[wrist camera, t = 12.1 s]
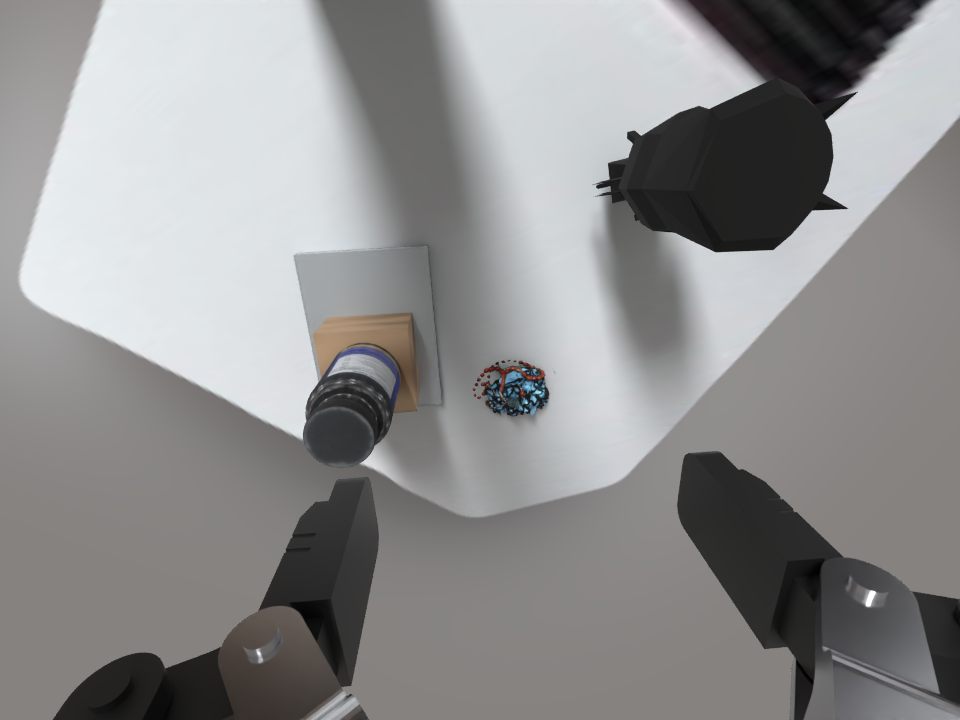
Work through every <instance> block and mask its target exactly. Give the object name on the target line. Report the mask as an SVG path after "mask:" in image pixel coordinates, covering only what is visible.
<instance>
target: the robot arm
mask: <svg viewBox="0 0 960 720" xmlns="http://www.w3.org/2000/svg"><path fill="white" fill-rule="evenodd" d="M677 507H678V514H679V518H680V521H681V524H682V526H683V528H684V529H685V531H686V532H687V534H688V535H689V537H690V538H691V540H692V541H693V543H694V544H695V546H696V547H697V549H698V550H699V552H700V553H701V555H702V556H703V558H704V559H705V561H706V562H707V564H708V565H709V567H710V568H711V570H712V571H713V573H714V574H715V576H716V577H717V579H718V580H719V582H720V583H721V585H722V586H723V588H724V589H725V591H726V592H727V594H728V595H729V597H730V598H731V600H732V601H733V603H734V604H735V606H736V607H737V608H738V610H739V612H740V613H741V614H742V616H743V617H744V619H745V621H746V622H747V623H748V625H749V627H750V628H751V630H752V631H753V632H754V634H755V635H756V637H757V638H758V640H759V641H760V643H761V644H762V646H763V647H764V649H769V648H780V647H788V648H789V650H790V651H791V652H792V654H793V655H794V659H793V662H792V667H791V685H790V709H789V720H960V599H954V598H948V597H942V596H936V595H930V594H924V593H918V592H912V591H911V590H910V589H909V588H908V587H907V586H906V585H905V584H903V582H902V581H900V580H899V579H898V578H896V577H895V576H893V575H892V574H890V573H889V572H887V571H885V570H883V569H882V568H879V567H877V566H875V565H873V564H870V563H867V562H865V561H862V560H858V559H853V558H845V557H843V556H842V555H841V554H840V553H839V552H838V551H837V550H835V549H834V548H833V547H832V546H831V545H830V544H829V543H828V542H827V541H826V540H825V539H824V538H823V537H822V536H821V535H820V534H819V533H818V532H817V531H816V530H815V529H814V528H812V527H811V526H810V525H809V524H808V523H807V522H806V521H805V520H804V519H803V518H802V517H801V516H800V515H799V514H798V513H797V512H794V511H793V508H792V507H791V506H790V505H788V503H786V502H785V501H784V500H783V499H782V500H781V499H780V496H779V495H778V494H777V493H776V492H775V491H774V490H773V489H772V488H771V487H770V486H769V485H768V484H767V483H766V482H764V481H763V480H761V479H759V478H757V477H756V476H754V475H752V474H750V473H749V472H747V471H745V470H743V469H742V470H738V469H737V468H736V467H735V466H734V465H733V464H732V463H731V462H730V461H729V460H728V459H727V458H726V457H725V456H724V455H723V454H722V453H721V452H718V451H712V452H700V453H688V454H686V455H685V457H684V459H683V465H682V472H681V480H680V487H679V494H678V502H677ZM378 534H379V533H378V524H377V517H376V512H375V506H374V500H373V494H372V488H371V482H370V479H369V478H368V477H364V478H351V479H338V480H337V481H336V483H335V486H334V489H333V491H332V493H331V496H330V499H329V501H323V502H315V503H314V504H313V505H312V506H311V507H310V508H309V509H308V510H307V511H306V513H304V514H303V515H302V516H301V517H300V519H299V521H298V524H297V526H296V528H295V530H294V533H293V537H292V538H291V539H290V542H289V544H288V546H287V548H286V553H284V555H283V557H282V559H281V562H280V564H279V567H278V568H277V571H276V573H275V575H274V577H273V579H272V582H271V584H270V586H269V588H268V591H267V593H266V595H265V597H264V600H263V602H262V604H261V606H260V609H259V610H258V611H257V612H255V613H253V614H251V615H250V616H248V617H247V618H245V619H244V620H242V621H241V622H240V623H239V624H237V626H235V627H234V628H233V629H232V631H231V632H230V633H229V634H228V635H227V637H226V638H225V640H224V642H223V643H222V646H221V647H219V648H218V649H216V650H214V651H211V652H209V653H206V654H203V655H201V656H198V657H196V658H193V659H190V660H187V661H185V662H182V663H179V664H177V665H174V666H171V667H168V668H166V669H165V667H164V665H163V663H162V661H161V659H160V658H159V657H158V656H156V655H154V654H151V653H135V654H131V655H127V656H124V657H122V658H119V659H117V660H114V661H112V662H111V663H109V664H107V665H105V666H103V667H102V668H101V669H99V670H98V671H96V672H94V673H93V674H92V675H91V676H90V677H88V678H87V679H86V680H85V681H83V682H82V683H81V684H80V685H79V686H78V687H77V688H76V689H75V690H74V692H72V694H71V695H70V696H69V697H68V699H67V700H66V701H65V703H64V704H63V706H62V707H61V709H60V710H59V711H58V713H57V714H56V716H55V717H54V719H53V720H369V719H368V718H367V716H366V714H365V712H364V711H363V709H362V707H361V706H360V704H359V702H358V701H357V699H356V698H355V697H354V696H353V695H352V694H350V695H349V696H347V695H346V694H345V692H344V690H343V689H342V687H344V686H351V684H352V679H353V674H354V668H355V664H356V659H357V654H358V649H359V644H360V639H361V634H362V628H363V624H364V618H365V614H366V609H367V603H368V598H369V593H370V588H371V583H372V578H373V572H374V568H375V563H376V558H377V552H378V541H379V535H378Z"/></svg>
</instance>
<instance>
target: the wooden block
mask: <svg viewBox="0 0 960 720" xmlns="http://www.w3.org/2000/svg"><path fill="white" fill-rule="evenodd" d="M313 339H314V344H315V349H316V354H317V359H318V364H319V369H320V375H321V378H322V376H323V375H324V373H325V372H326V370H327V369H328V367H329V366H330V364H331V363H332V361H333V360H334V358H335V357H336V355H337V354H338V353H339V352H341V351H342V350H343V349H345V348H347V347H348V346H350V345H353V344H356V343H371V344H376V345H378V346H380V347H382V348H384V349H386V350H387V351H388V352H389V353H390V354H391V355H392V356H393V357H394V358H395V359H396V360H397V363H398V364H399V367H400V371H401V381H400V387H399V391H398V396H397V400H396V404H395V408H394V412H393V413H397V412H411V411H417V406H418V399H419V392H420V382H419V373H418V364H417V355H416V345H415V336H414V327H413V318H412V312H410V313H394V314H379V315H363V316H347V317H332V318H327V319H326V320H325V321H324V322H323V323H322V324H321V326H320V327H319V328H318V329H317V330H316V331H315V332H314V333H313Z"/></svg>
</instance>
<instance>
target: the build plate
mask: <svg viewBox="0 0 960 720" xmlns="http://www.w3.org/2000/svg"><path fill="white" fill-rule="evenodd" d="M294 260H295V265H296V270H297V275H298V280H299V285H300V290H301V295H302V300H303V305H304V310H305V315H306V320H307V325H308V331H309V336H310V341H311V346H312V351H313V356H314V361H315V366H316V371H317V376H318V381H320V379H321V375H320V369H319V364H318V359H317V354H316V349H315V344H314V339H313V333H314V332H315V331H316V330H317V329H318V328H319V327H320V326H321V324H322V323H323V322H324V321H325V320H326V319H327V318H332V317H347V316H363V315H379V314H394V313H410V312H412V318H413V327H414V336H415V345H416V355H417V364H418V373H419V382H420V392H419V399H418V406H421V405H435V404H441V388H440V377H439V365H438V354H437V343H436V332H435V321H434V310H433V299H432V288H431V277H430V266H429V255H428V245H427V246H410V247H393V248H376V249H358V250H341V251H324V252H307V253H297V254H295V255H294Z"/></svg>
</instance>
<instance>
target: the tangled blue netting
mask: <svg viewBox="0 0 960 720" xmlns="http://www.w3.org/2000/svg"><path fill="white" fill-rule="evenodd" d="M508 361H510V360H508ZM514 362H516V361H514ZM502 363H505V361H502ZM496 365H498V366H496V367H494V366H493V365H492V366H491V367H490V368H489V369H487V368H486V369H484V373H487V372H491V371H494V370H496V371H499V372H500V373H501V374H502V375H501V377H500V379H498V380H496V381H495V382H494V383H493V385H490V382H489V381H488V382H486V383H485V382H483V383H481V386H485V389H484V391H483V392H482V395H483V396H484V395H488V397H489V401H486V405H487V406H489V408H491V409H493V412H494V413H496V412H497V413H499V414H502V413H503V412H504V411H506V412H507V414H508V415H510V416H517V415H518V414H521V415H523V414H524V411H525V412H526V413H527V414H528V413H530V414H531V415H534V414H535V412H536V408H540V409H542V406H544V405H545V403H547V402H548V396H549V392H548V389H547V388H546V387H545V382H544V377H545V374H544V371H543V370H540V368H535V366H531V365H529V364H528V363H523V362H522V361H519V366H511V367H508V368H505V369H502V368H500V365H499V362H497V363H496ZM484 373H482V374H481V375H480V376H481V377H483V376H484ZM554 373H555V372H554ZM487 377H488V378H490V375H489V376H487ZM480 380H481V379H480V378H478V379H477V381H480ZM486 384H489V385H486ZM475 386H478V384H477V383H476V384H475ZM473 391H475V388H474V389H473ZM475 396H476V394H474V397H475ZM477 398H478V399H480V398H481V396H478V397H477Z"/></svg>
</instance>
